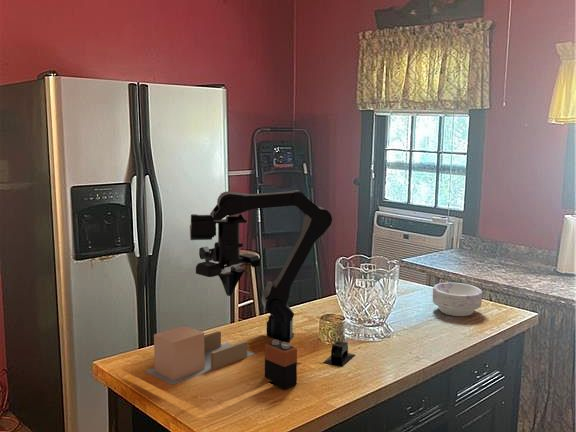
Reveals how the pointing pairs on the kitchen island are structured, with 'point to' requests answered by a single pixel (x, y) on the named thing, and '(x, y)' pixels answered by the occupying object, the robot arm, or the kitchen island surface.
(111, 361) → the kitchen island surface
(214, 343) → the chute
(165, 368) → the block
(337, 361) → the black rectangular piece
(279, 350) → the battery
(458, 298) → the white marble bowl
